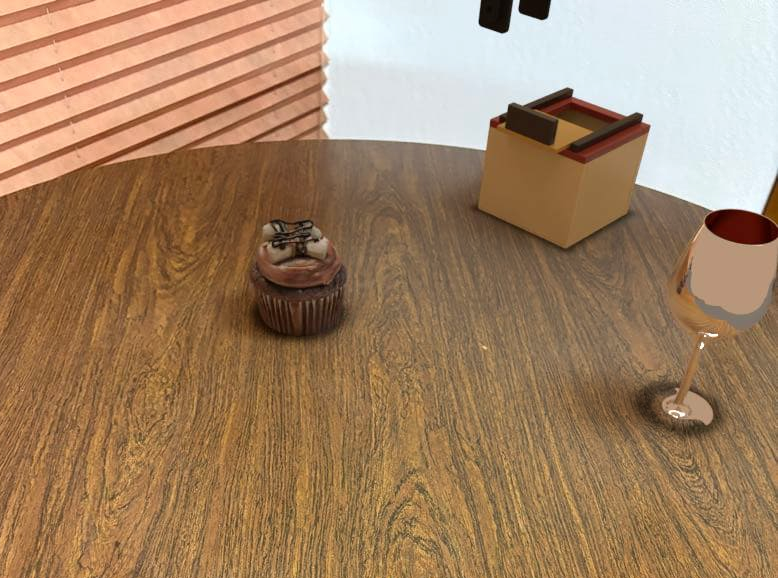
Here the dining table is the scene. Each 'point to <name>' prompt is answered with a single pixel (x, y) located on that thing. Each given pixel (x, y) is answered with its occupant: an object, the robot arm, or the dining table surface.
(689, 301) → the wineglass
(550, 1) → the robot arm
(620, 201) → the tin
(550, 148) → the slider
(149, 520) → the dining table surface
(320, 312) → the cupcake
